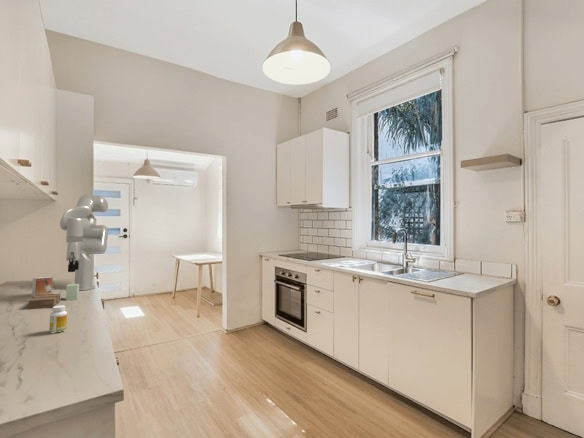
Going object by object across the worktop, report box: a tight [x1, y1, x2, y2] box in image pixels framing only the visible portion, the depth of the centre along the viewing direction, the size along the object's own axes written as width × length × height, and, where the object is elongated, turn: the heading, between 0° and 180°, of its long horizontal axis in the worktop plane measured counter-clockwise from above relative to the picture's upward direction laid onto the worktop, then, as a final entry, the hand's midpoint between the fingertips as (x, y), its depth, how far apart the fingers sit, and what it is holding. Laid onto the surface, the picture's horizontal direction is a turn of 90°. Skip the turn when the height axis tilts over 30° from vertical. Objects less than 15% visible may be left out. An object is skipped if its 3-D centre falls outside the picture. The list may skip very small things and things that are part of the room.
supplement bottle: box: [48, 304, 68, 333], centre depth 124 cm, size 5×5×10 cm
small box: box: [31, 275, 53, 298], centre depth 181 cm, size 8×6×10 cm
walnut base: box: [27, 293, 61, 310], centre depth 162 cm, size 14×10×4 cm
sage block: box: [65, 283, 80, 302], centre depth 175 cm, size 5×5×8 cm
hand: (73, 270), depth 175 cm, fingers open, 9 cm apart
